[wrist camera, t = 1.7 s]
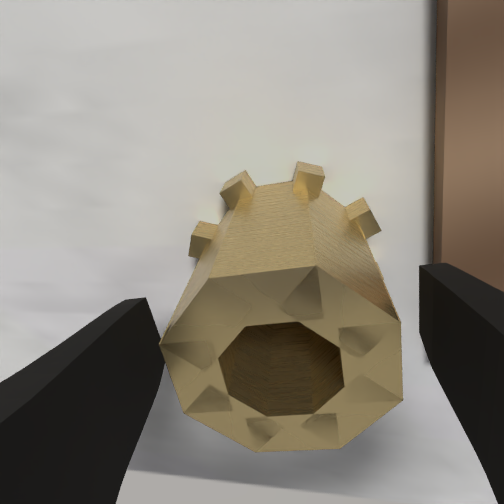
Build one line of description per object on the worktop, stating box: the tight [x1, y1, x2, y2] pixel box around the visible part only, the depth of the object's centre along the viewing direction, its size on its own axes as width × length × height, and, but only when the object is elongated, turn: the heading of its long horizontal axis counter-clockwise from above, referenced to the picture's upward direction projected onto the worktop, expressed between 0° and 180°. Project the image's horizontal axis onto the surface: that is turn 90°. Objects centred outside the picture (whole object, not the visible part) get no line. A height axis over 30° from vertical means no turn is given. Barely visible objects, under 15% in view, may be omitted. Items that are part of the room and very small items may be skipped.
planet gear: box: [159, 162, 403, 452], centre depth 11 cm, size 6×6×6 cm
